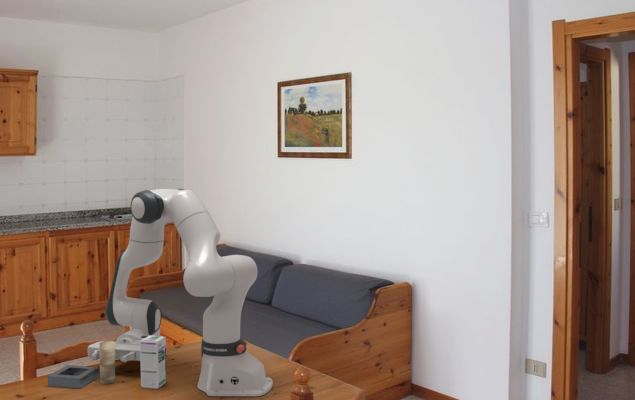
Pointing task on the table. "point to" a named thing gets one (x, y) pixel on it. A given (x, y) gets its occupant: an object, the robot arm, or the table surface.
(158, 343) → the syrup box
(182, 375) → the table surface
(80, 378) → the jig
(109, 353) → the peg
